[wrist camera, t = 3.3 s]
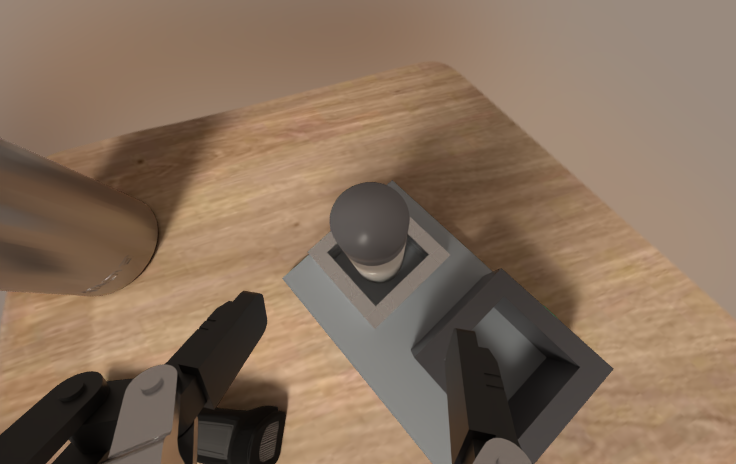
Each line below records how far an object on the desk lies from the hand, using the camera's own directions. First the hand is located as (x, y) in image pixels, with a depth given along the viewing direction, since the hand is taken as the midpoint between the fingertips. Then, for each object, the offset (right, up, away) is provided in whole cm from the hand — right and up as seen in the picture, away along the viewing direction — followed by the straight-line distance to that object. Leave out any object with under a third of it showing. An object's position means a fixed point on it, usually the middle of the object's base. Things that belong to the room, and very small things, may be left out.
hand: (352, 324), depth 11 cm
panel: (+5, -2, +10) cm, 11 cm away
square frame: (+1, +2, +10) cm, 10 cm away
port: (+9, -5, +7) cm, 12 cm away
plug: (+1, +2, +10) cm, 10 cm away
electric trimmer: (-13, -10, +9) cm, 19 cm away
